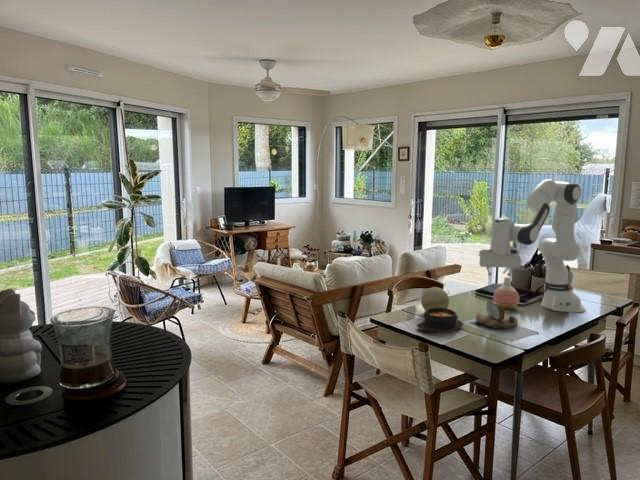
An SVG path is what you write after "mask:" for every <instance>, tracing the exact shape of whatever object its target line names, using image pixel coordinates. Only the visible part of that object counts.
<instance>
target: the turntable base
mask: <svg viewBox="0 0 640 480" xmlns="http://www.w3.org/2000/svg"><path fill="white" fill-rule="evenodd" d="M487 327H488V325H487ZM493 327H494V326H490V327H489V328H493ZM494 329H508V328H507V327H495V328H494Z"/></svg>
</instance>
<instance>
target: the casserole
mask: <svg viewBox="0 0 640 480" xmlns="http://www.w3.org/2000/svg"><path fill="white" fill-rule="evenodd" d="M424 311H425V310H424ZM423 318H424V320H423V321H421V322H420V323H417V324H416V327H417V328H419V329H421V330H422V331H427V332H430V333H431V332H435V333H436V332H438V333H439V332H440V333H441V332H442V333H443V332H452V331H456V330H459V328H460V327H462V326H464V323H463V321H461V320H458V319H459V317H458V315H457V312H456V311H454V310H453V309H448V308H447V309H444V308H431V309H428V310H426V311H425V312H424V313H423Z"/></svg>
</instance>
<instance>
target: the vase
mask: <svg viewBox="0 0 640 480" xmlns="http://www.w3.org/2000/svg"><path fill="white" fill-rule="evenodd" d="M503 279H504V280H503V285H500V286H498V288H496V289H495V291H494V293H493V300H495V301H496V302H498V303H499V304H501V305H502V306H503V309H504V310H511V309H513V308H515V307H516V306H518V304H519V302H520V295H519V293H518V291H517V290H516V288H514V287H513V286H512V285H511V277H510V276H506V277H505V276H504V278H503Z"/></svg>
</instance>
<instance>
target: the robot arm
mask: <svg viewBox="0 0 640 480" xmlns="http://www.w3.org/2000/svg"><path fill="white" fill-rule="evenodd" d="M581 196H582V189H581V187H580V185H579V184H577V183H574V182H567V181H554V180H553V179H544V180H542V181H541V182H539V183H538V184H537V185H536V186H535V188H533V190H532V191H531V192H530V193H529V194H528V196H527V198H526V205H527V207H528V208H529V210H530V211H531V212H532V213H534V215H533V217H532V220H531V221H530V222H529V223H527V224H523V223H522V224H521V223H516V222H513V221H512V220H511V219H510V218H509V217H497V218H495V219H494V221H493V223H492V230H491V236H492V237H491V238H492V240H491V248H482V249H480V250H479V253H478V254H479V255H478V256H479V263H478V264H479V266H480V267H482V268H486V270H487V273H488V276H492V271H490V270H489V269H490V268H507V269H508V268H509V269H510V270H509V271H507V275H506V277H511V276H512V272H513V271H514V269H520V268H521V266H522V258H521V256H520V249H518V248H517V247H514V246H511V242H513V243H517V244H522V245H525V246H531V245H533V244H534V243H535V242H536V241H537V240H538V237H539V233H540V231H541V229H542V227H543V226H544V224H545V222H546V220H547V218H548V216H549V213H550V210H551V208H550V204H551V203H552V202H556V204H555V207H554V211H553V218H552V222H551V229H552V231H553V232H554V233H555V238H554V237H545V238H543V239H541V241H540V242H539V243H538V249H539V252H540V253H541V254H542V256H543V259H544V264H545V270H546V271H545V281H544V283H543V284H544V285H543V290H544V291H543V293H544V294H543V298H542V301H541V303H540V306H541V307H543V308H545V309H549V310H552V311H553V312H554V311H555V312H569V313H573V312H574V313H585V311H586V308H585V306H584V305H583V304H582V301H581V298H580V296H579V295H577V294H576V293H575V292H574V291H572V290H573V285H571V284H570V283H568V279H569V277H568V276H569V269H568V267H567V266H566V264H565V263H564V262H572V261H576V260H578V258H579V257H580V254H581V248H580V246H579V245H578V243H577V242H576V238H575V223H576V216H577V210H578V203H577V202H578V200H579V199H580V197H581Z"/></svg>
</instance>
